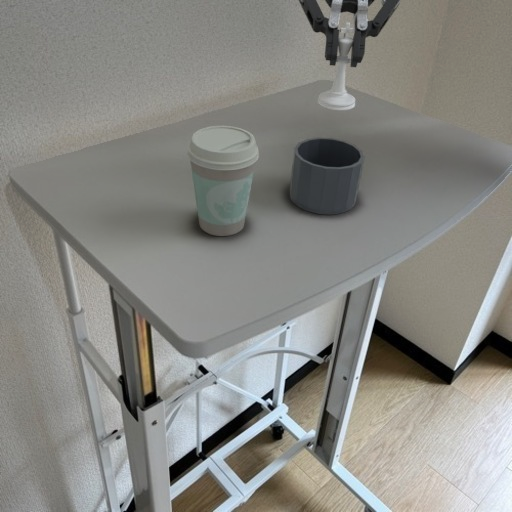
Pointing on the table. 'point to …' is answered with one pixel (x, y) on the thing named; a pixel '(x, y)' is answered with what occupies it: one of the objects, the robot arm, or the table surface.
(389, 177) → the table surface
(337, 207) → the tumbler
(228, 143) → the coffee cup
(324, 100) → the chess piece
